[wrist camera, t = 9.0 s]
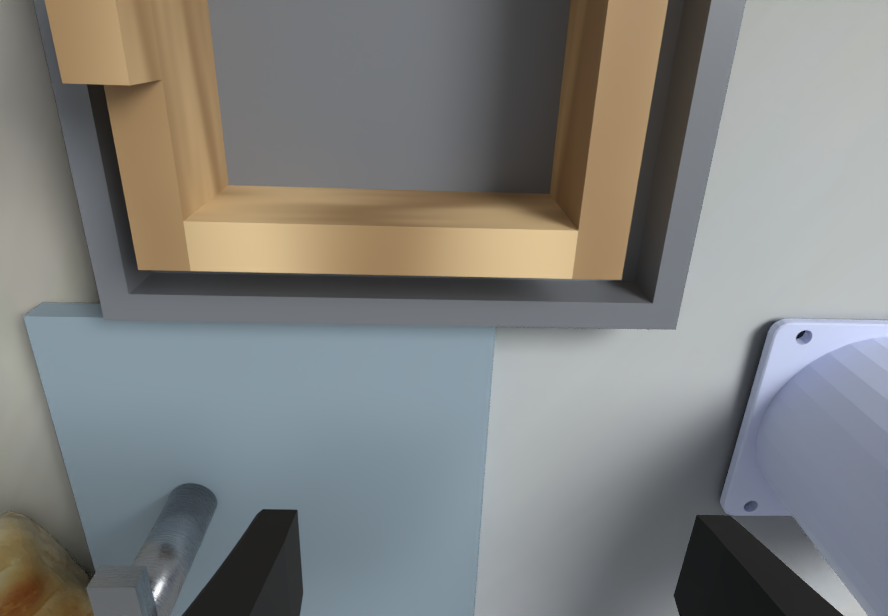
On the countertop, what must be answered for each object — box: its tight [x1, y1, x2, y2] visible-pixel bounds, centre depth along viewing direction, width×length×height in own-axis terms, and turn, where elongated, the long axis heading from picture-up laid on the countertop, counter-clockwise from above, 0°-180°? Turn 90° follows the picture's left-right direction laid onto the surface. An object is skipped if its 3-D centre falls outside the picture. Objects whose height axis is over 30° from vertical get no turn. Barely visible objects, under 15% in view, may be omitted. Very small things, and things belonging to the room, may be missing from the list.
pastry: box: [0, 511, 94, 616], centre depth 23 cm, size 9×7×4 cm
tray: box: [33, 0, 746, 330], centre depth 15 cm, size 16×16×2 cm
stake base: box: [23, 302, 496, 616], centre depth 22 cm, size 14×14×1 cm
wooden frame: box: [45, 0, 668, 280], centre depth 13 cm, size 11×11×5 cm
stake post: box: [86, 483, 218, 616], centre depth 19 cm, size 2×4×5 cm, turn 178°
